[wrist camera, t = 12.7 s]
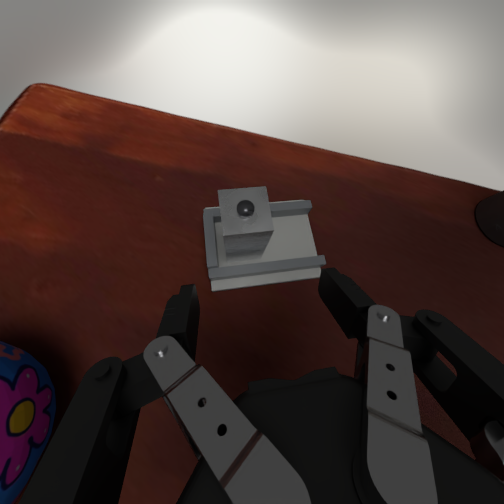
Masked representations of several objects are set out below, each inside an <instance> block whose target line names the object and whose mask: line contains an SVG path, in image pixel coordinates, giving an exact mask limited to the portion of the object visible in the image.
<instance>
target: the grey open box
mask: <svg viewBox="0 0 504 504" xmlns="http://www.w3.org/2000/svg"><path fill="white" fill-rule="evenodd" d="M269 205H270V211H271V216H272V221H273V226H274V232H273V234H272V236H271V238H270V240H269V243H268V245H267V247H266V249H265V251H264V253H263V255H262V257H261V259H255V260H247V261H239V262H231V263H227V258H226V252H225V245H224V239H223V231H222V223H221V214H220V207H210V208H205V209H204V214H203V220H204V232H205V245H206V257H207V267H208V271H209V279H210V280H211V287H212V292H216V291H223V290H231V289H239V288H246V287H254V286H261V285H269V284H277V283H284V282H292V281H299V280H307V279H314V278H320V273H321V269H320V267H321V266H323V265H325V264H326V261H325V257H324V255H320V256H317V252H316V248H315V244H314V240H313V236H312V231H311V227H310V223H309V219H308V215H307V214H308V213H309V211H310V210H311V209H312V205H311V201H310V200H306V201H304V200H294V201H282V202H270V203H269Z"/></svg>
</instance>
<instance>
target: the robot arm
mask: <svg viewBox="0 0 504 504" xmlns="http://www.w3.org/2000/svg"><path fill="white" fill-rule="evenodd" d="M476 219H477V222H478V224H479V226H480V228H481V230H482V231H483V232H484V233H485V235H486V236H487V237H489V238H490V239H491V240H492V241H494V242H495V243H497V244H499V245H501V246H504V191H502V192H500V193H497V194H495V195H493V196H491V197H489V198H486V199H484V200H482V201H481V202H480V203H479V204H478V205H477V208H476ZM318 292H319V295H320V297H321V299H322V301H323V302H324V303H325V305H326V306H327V308H328V309H329V311H330V312H331V314H332V315H333V317H334V318H335V320H336V321H337V323H338V324H339V326H340V327H341V329H342V330H343V332H344V333H345V335H346V336H347V338H348V339H351V338H357V339H358V344H357V352H356V362H355V372H354V378H352V377H349V376H346V375H342V374H338V372H337V370H336V368H335V367H330V368H325V369H319V370H314V371H312V372H310V373H308V374H306V375H304V376H302V377H300V378H299V379H297V380H283V379H272V378H269V379H264V380H258V381H253V382H248V389H249V390H247V391H245V392H243V393H242V394H241V395H239V396H238V397H237V398H236V399H235V400H234V401H233V402H232V400H231V399H230V398H229V397H228V396H227V395H226V393H225V392H224V391H223V390H222V389H221V387H220V386H219V385H218V384H217V383H216V382H215V380H214V379H213V378H212V377H211V376H210V375H209V373H208V372H207V371H206V370H205V369H204V368H203V367H202V366H201V365H200V364H199V365H196V364H195V354H196V345H197V335H198V325H199V316H200V306H199V300H198V296H197V291H196V287H195V284H190V285H182V286H181V289H180V293H179V294H178V295H173V296H172V297H171V298H170V299H169V300H168V302H167V304H166V308H165V311H164V314H163V317H162V320H161V323H160V327H159V330H158V333H157V336H156V339H155V340H153V341H152V342H151V343H149V345H148V346H147V347H146V349H145V351H144V352H143V353H141V354H139V355H137V356H135V357H132V358H130V359H128V360H125V361H123V362H122V361H121V359H120V358H118V357H108V358H105V359H103V360H101V361H99V362H97V363H96V364H95V365H93V366H92V367H91V368H90V369H89V370H88V371H87V372H86V374H85V375H84V377H83V379H82V381H81V383H80V385H79V387H78V389H77V391H76V393H75V395H74V397H73V398H72V400H71V402H70V404H69V406H68V408H67V410H66V412H65V414H64V416H63V418H62V420H61V422H60V424H59V426H58V428H57V430H56V432H55V434H54V435H53V437H52V439H51V441H50V443H49V445H48V447H47V449H46V451H45V453H44V455H43V457H42V459H41V461H40V463H39V465H38V467H37V469H36V471H35V472H34V474H33V476H32V478H31V480H30V482H29V484H28V486H27V488H26V490H25V492H24V494H23V496H22V498H21V500H20V502H19V504H118V502H119V498H120V494H121V489H122V485H123V481H124V477H125V472H126V468H127V464H128V460H129V456H130V451H131V447H132V443H133V439H134V434H135V430H136V426H137V422H138V417H139V413H140V409H141V407H142V406H144V405H146V404H148V403H150V402H152V401H154V400H156V399H158V398H160V397H163V399H164V401H165V402H166V404H167V406H168V408H169V409H170V411H171V413H172V415H173V416H174V418H175V420H176V421H177V423H178V425H179V427H180V429H181V430H182V432H183V434H184V436H185V438H186V440H187V442H188V443H189V445H190V447H191V449H192V450H193V452H194V454H195V456H196V457H197V459H198V461H199V462H198V463H197V465H196V467H195V469H194V471H193V473H192V475H191V477H190V478H189V480H188V482H187V484H186V486H185V488H184V490H183V492H182V493H181V495H180V497H179V499H178V501H177V503H176V504H504V365H503V364H502V363H501V362H500V361H498V360H497V359H496V358H495V357H494V356H492V355H491V354H490V353H489V352H487V351H486V350H485V349H484V348H482V347H481V346H480V345H479V344H478V343H476V342H475V341H474V340H473V339H471V338H470V337H469V336H468V335H466V334H465V333H464V332H463V331H462V330H460V329H459V328H458V327H457V326H455V325H454V324H453V323H452V322H451V321H449V320H448V319H447V318H445V317H444V316H442V315H441V314H439V313H436V312H434V311H430V310H419V311H417V313H416V315H415V317H410V316H400V315H398V314H397V313H396V312H395V311H394V310H392V309H390V308H388V307H386V306H382V305H377V304H376V303H375V302H374V301H373V300H372V299H371V298H370V297H369V296H368V295H367V294H366V293H365V292H364V291H363V290H362V289H361V288H360V287H359V286H358V285H356V283H355V282H354V281H353V280H352V279H351V278H349V277H347V276H346V275H344V274H340V273H339V272H338V271H337V269H336V268H326V269H322V270H321V273H320V280H319V286H318ZM438 351H439V352H440V353H441V354H442V355H443V356H444V357H445V358H446V359H447V360H448V361H449V362H450V363H451V364H452V365H453V366H454V368H455V369H456V371H457V377H456V376H455V375H454V373H453V372H452V371H451V370H450V369H449V368H448V367H447V366H446V365H445V364H444V363H443V362H442V361H441V360H440V359H439V358H438V357H437V356H436V354H437V353H438ZM413 372H414V373H415V374H416V375H417V377H418V378H419V379H420V380H421V382H422V383H423V384H424V385H425V387H426V388H427V389H428V390H429V392H430V393H431V394H432V395H433V397H434V398H435V399H436V400H437V402H438V403H439V404H440V405H441V407H442V408H443V409H444V410H445V412H446V413H447V414H448V415H449V417H450V418H451V419H452V420H453V422H454V423H455V424H456V425H457V427H458V428H459V429H460V430H461V432H462V433H463V434H464V435H465V437H466V438H467V439H468V440H469V442H470V447H471V450H472V452H473V454H474V456H475V458H476V459H475V460H474V459H472V458H471V457H469V456H468V455H466V454H465V453H463V452H462V451H461V450H459V449H458V448H456V447H455V446H453V445H452V444H451V443H449V442H448V441H446V440H445V439H443V438H442V437H440V436H439V435H438V434H436V433H435V432H433V431H432V430H430V429H429V428H428V427H426V426H425V425H423V424H422V423H421V422H420V415H419V408H418V401H417V395H416V388H415V381H414V375H413Z"/></svg>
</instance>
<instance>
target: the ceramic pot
mask: <svg viewBox="0 0 504 504" xmlns="http://www.w3.org/2000/svg"><path fill="white" fill-rule="evenodd" d="M55 412H56V400H55V389H54V386H53V384H52V382H51V379H50V377H49V375H48V372H47V370H46V368H45V367H44V366H43V365H41V364H40V363H39V362H38V361H37V360H36V359H35V358H34V357H33V356H32V355H30V354H29V353H27V352H26V351H24V350H22V349H20V348H17V347H15V346H12V345H10V344H7V343H5V342H2V341H0V504H14V503H15V502H16V500H17V499H18V497H19V496H20V494H21V493H22V491H23V489H24V487H25V486H26V484H27V482H28V480H29V478H30V476H31V474H32V472H33V470H34V468H35V466H36V464H37V462H38V460H39V458H40V456H41V454H42V452H43V450H44V448H45V446H46V444H47V442H48V440H49V438H50V435H51V433H52V427H53V422H54V417H55Z"/></svg>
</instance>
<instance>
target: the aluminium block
mask: <svg viewBox="0 0 504 504" xmlns="http://www.w3.org/2000/svg"><path fill="white" fill-rule="evenodd" d="M218 196H219V205H220V214H221V223H222V231H223V239H224V245H225V252H226V258H227V263H231V262H239V261H247V260H255V259H261V257H262V255H263V253H264V251H265V249H266V247H267V245H268V243H269V240H270V238H271V236H272V234H273V232H274V226H273V221H272V216H271V211H270V205H269V200H268V195H267V189H266V186H264V187H252V188H239V189H226V190H218Z"/></svg>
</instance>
